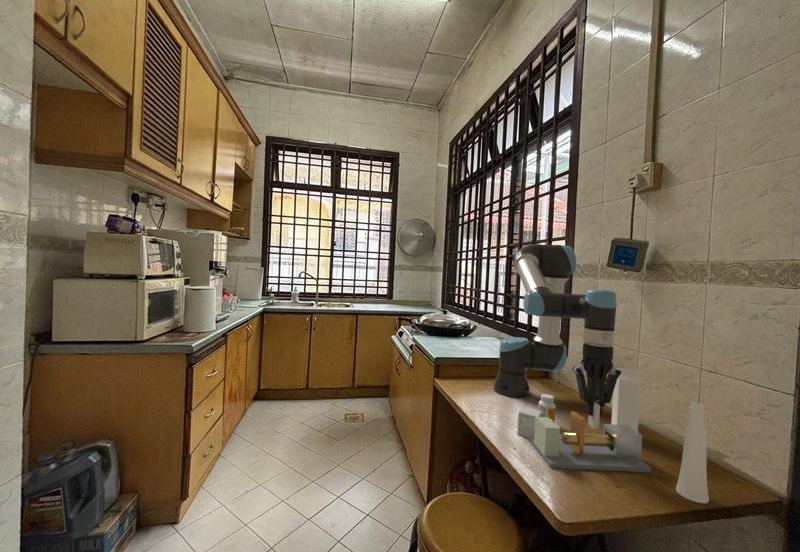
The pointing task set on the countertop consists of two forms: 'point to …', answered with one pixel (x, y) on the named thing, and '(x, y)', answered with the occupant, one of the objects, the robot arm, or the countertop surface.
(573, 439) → the tube
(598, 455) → the board
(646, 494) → the countertop surface
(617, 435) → the grey cube end cap
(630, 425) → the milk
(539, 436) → the socket
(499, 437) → the countertop surface
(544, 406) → the supplement bottle
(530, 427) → the product box
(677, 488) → the cosmetic bottle
